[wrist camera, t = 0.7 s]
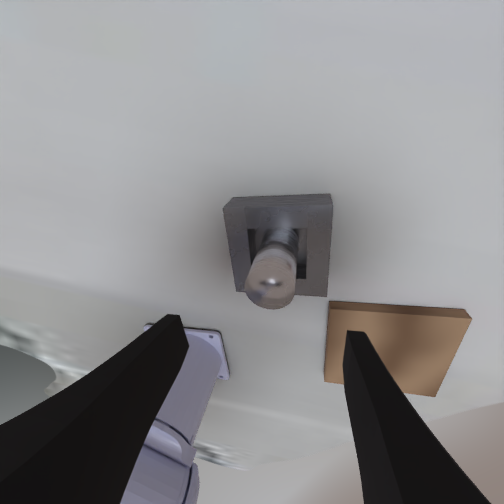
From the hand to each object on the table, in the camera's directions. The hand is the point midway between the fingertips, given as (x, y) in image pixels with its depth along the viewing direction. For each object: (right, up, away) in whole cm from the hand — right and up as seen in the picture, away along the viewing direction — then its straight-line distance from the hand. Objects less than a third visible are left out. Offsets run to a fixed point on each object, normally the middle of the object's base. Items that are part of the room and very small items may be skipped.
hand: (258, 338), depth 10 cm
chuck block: (+2, +5, +8) cm, 10 cm away
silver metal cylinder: (+2, +5, +8) cm, 9 cm away
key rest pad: (+12, -5, +12) cm, 17 cm away
